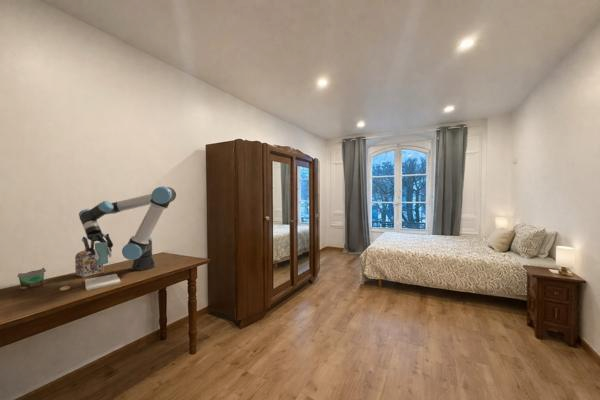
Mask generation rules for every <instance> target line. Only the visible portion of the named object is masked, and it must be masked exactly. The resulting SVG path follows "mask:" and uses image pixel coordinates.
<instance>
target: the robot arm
mask: <svg viewBox="0 0 600 400" xmlns="http://www.w3.org/2000/svg"><path fill="white" fill-rule="evenodd" d="M176 197H177V194H176V191H175V189H173V188H172V187H170V186H163V185H162V186H158V187H156V188H154V189H153V191H152V192H151V193H149V194H145V195H139V196H136V197H132V198H128V199H124V200H123V199H122V200H120V201H115V202H110V201H108V200H103V201H101V202H99V203H98V204H97V205H95V206H93V207H92V208H91V209H90V208H85V209H82V210H80V211H79V212H78V217H79V220H80V222H81V224H82V228H83V229H84V232H85V234H86V236H83V237H82V239H81V242H82V243H83V244H84V250H85V249H86V251H87V252H88V251H90V252H91V253H92V255H94V256H95V258H96V260H98V258H99V256H98V254H97V251H96V249H95V243H96V242H98V243H99V242H107V247H108V259H109V258H112V256H113V254H112V251H113V250H112V248H113V246H114V243H113V241H112V240H111V238H110V234H109V233H106V234H104V233H103V232H102V229H101V227H100V224H99V223H98V219H101V218H102V217H103V216H105V215H110V214H111V215H112V214H113V215H115V214H117V213H121V212H124V211H129V210H134V209H136V208H141V207H142V208H143V207H145V206H149V207H148V209H147V211H146V213H145V215H144V217H143V219H142V221H141V223H140V225H139V226H138V228H137V230H136V232H135V234H134V235H133V236H130V238H129V240H128V242H127V244H125V245H124V246H122V249H121V253H122V256H123V258H125V259H127V260H129V261H132V263H131V265H130V269H131V271H134V272H135V271H137V272H138V271H146V270H150V269H152V268H155V267H156V262H155V260H154V258H153V240H152V239H153V238H152V237H151V235H152V233H153V231H154V229H155V227H156V225H157V223H158V221H159V219H160V218H161V215H162V213H163V211H164V210H166V209H168V207H169V206H170V204H171V203H172V202H173V201H175V199H176ZM89 241H90V245H89Z"/></svg>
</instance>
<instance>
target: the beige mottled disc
mask: <svg viewBox="0 0 600 400" xmlns="http://www.w3.org/2000/svg"><path fill="white" fill-rule="evenodd" d="M70 289H71V286H70V285H68V286H67V285H66V286H62V287H60V288H59V291H60V292H63V291H68V290H70Z"/></svg>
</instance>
